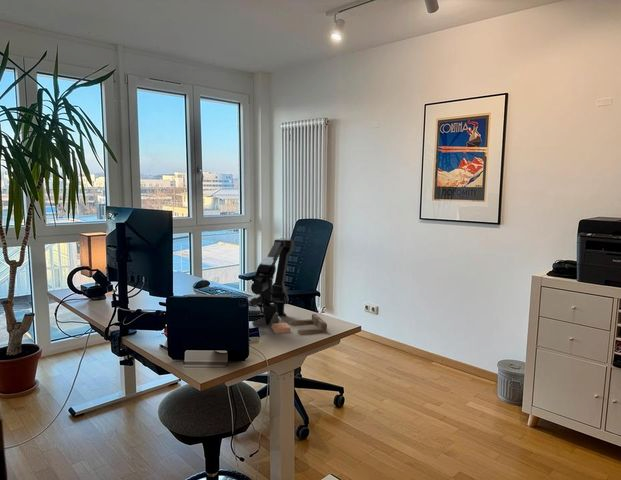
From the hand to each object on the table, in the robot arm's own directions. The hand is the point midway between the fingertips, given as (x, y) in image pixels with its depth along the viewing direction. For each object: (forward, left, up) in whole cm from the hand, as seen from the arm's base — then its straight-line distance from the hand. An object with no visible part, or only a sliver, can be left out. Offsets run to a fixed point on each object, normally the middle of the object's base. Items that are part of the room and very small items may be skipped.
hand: (265, 321), depth 204 cm
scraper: (0, 0, -1) cm, 1 cm away
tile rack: (+10, +17, -1) cm, 20 cm away
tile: (+10, +5, -2) cm, 11 cm away
